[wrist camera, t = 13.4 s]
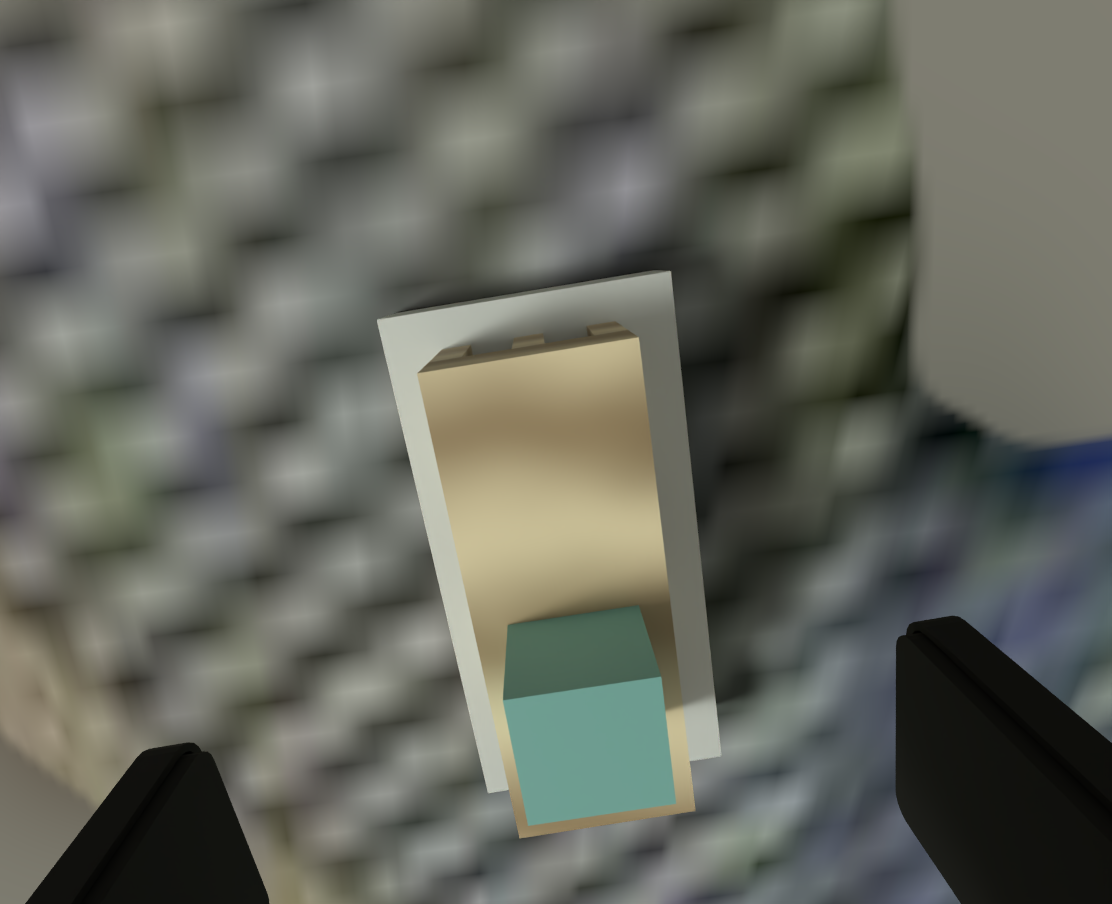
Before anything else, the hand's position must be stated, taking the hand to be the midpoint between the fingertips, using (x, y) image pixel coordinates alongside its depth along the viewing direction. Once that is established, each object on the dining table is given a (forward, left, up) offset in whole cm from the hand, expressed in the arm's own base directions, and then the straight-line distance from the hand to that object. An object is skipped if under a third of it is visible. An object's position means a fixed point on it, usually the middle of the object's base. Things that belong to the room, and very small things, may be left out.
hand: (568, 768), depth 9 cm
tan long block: (+4, 0, -15) cm, 16 cm away
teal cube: (+6, 0, -10) cm, 12 cm away
